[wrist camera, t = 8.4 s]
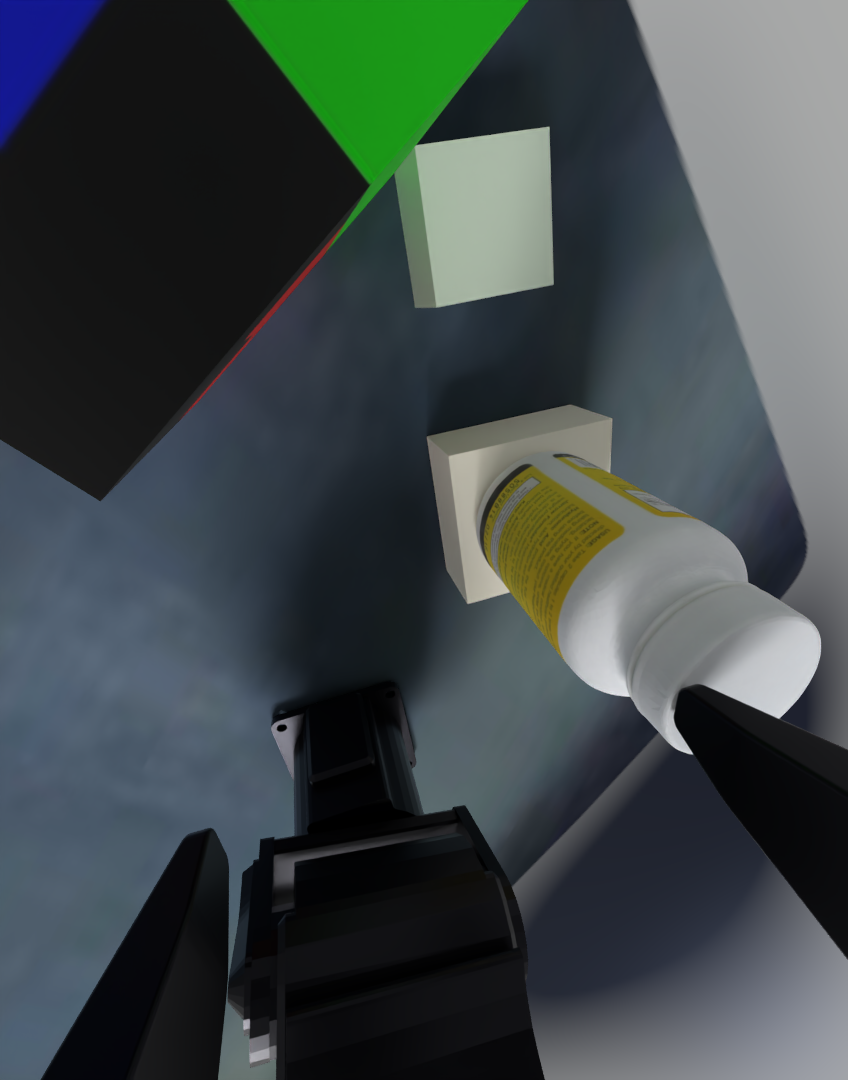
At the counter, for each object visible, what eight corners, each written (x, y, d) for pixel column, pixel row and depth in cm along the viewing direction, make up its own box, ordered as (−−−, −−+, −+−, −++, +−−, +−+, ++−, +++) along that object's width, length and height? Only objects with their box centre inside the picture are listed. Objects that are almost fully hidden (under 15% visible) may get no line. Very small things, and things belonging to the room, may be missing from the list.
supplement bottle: (481, 590, 20) (629, 808, 11) (463, 469, 17) (637, 632, 8) (598, 553, 20) (822, 731, 12) (598, 431, 18) (883, 548, 9)
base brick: (570, 536, 23) (606, 564, 21) (446, 569, 22) (467, 604, 20) (570, 404, 20) (612, 418, 18) (426, 436, 19) (448, 456, 17)
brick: (514, 288, 18) (553, 284, 15) (414, 307, 17) (436, 307, 15) (506, 156, 16) (549, 126, 13) (393, 173, 15) (414, 145, 13)
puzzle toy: (-155, 119, 12) (-1350, -395, 3) (82, -247, 11) (-895, -2898, 2) (197, 401, 17) (100, 501, 8) (393, 174, 15) (532, -6, 7)
